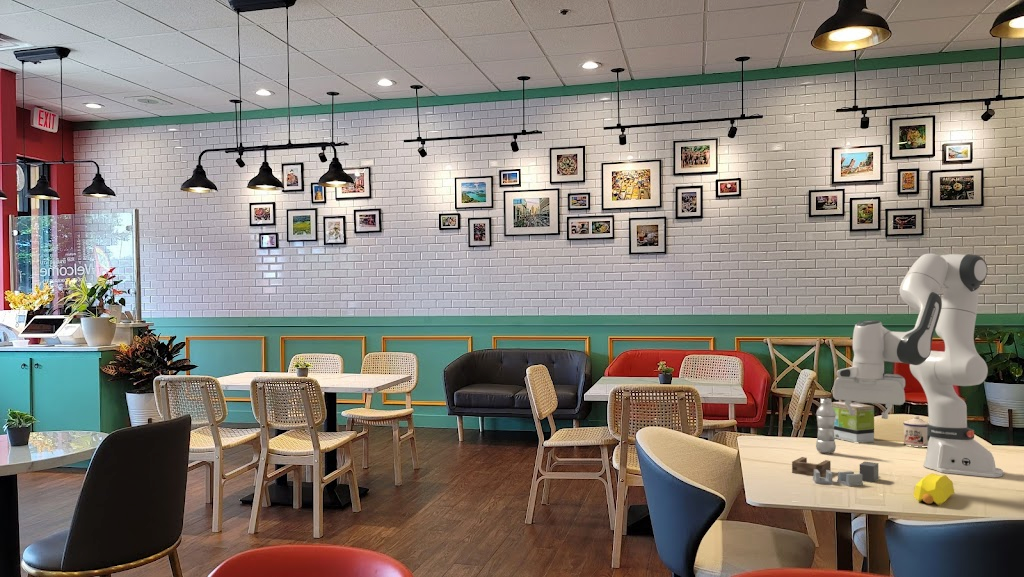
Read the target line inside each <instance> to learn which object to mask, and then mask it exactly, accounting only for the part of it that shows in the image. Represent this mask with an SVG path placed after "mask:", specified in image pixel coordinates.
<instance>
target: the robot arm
mask: <svg viewBox="0 0 1024 577" xmlns="http://www.w3.org/2000/svg"><path fill="white" fill-rule="evenodd" d="M905 274H906V275H905V276H904V278H903V279H902V281H901V283H900V286H899V291H898V292H899V296H900V298H901V299H902V301H903V302H904V303H905V304H906V305H907V306H909V307H910V308H912V309H914V310H916V311H919V313H918V316H917V318H916V321H915V325H914V328H913V329H911V330H908V331H893V330H892V331H891V330H890V329H887V328H886V327H885V326H883V323H882V321H880V320H874V319H868V320H861V321H859V322H856V324H855V325H854V328H853V333H852V351H853V359H852V365H851V366H847V367H846V368H841V369H838V370H837V371H836V376H837V377H836V379H834V382H833V387H832V388H833V389H832V397H833V399H834V400H835V401H845V405H846V407H847V408H848V410H849V415H851V416H855V410H853V409H852V407H851V406H850V404H851V403H852V402H857V403H858V402H859V403H871V404H880V405H881V404H883V405H885V408H886V410H885V412H881V419H884V420H888V419H889V413H890V411H891V410H892V408H893V405H895V406H901V405H904V403H906V394H905V393H906V392H905V390H904V389H905V387H906V379H905V377H904V376H903V375H901V374H899V373H894V374H892V373H885V362H889V363H902V364H907V365H909V371H910V373H911V374H912V376H913V377H914V378H915V379H916V380H917V381H918V382H919V384H920V385H921V387H922V389H923V392H924V394H925V396H926V401H927V413H928V414H927V415H928V423H929V424H928V425H927V440H928V447H927V448H926V455H925V458H924V462H923V467H925V468H927V469H930V470H935V471H937V472H940V473H944V474H952V475H965V476H974V477H975V476H976V477H985V478H1000V477H1002V476H1003V475H1004V470H1003V469H1002V468H999V467H996V462H995V458H994V455H993V454H992V452H991V451H990V450H988V449H987V448H986V447H984V446H983V445H982V444H981V443H979V442H978V441H976V440H975V430H974V429H972V428H970V427H968V419H967V418H968V412H967V411H968V410H967V409H968V408H967V407H968V406H967V404H966V402H965V400H964V399H962V398H961V397H960V396H959V394H957V393H956V390H955V387H954V386H960V387H972V386H977V385H981V384H982V383H983V382H984V381H985V380H986V379H987V377H988V372H989V371H988V370H989V368H988V365H987V362H986V360H984V358H983V357H982V356H980V354H979V353H978V350H977V348H976V345H975V340H974V337H975V336H974V334H975V327H976V320H977V314H978V308H979V306H978V305H979V290H978V289H979V288H980V286H981V285H982V284H983V283H984V282H985V280H986V279H987V275H988V264H987V262H986V261H985V259H984V258H983V256H980V255H978V254H972V253H968V254H960V253H949V254H942V255H941V254H936V253H932V252H931V253H924V254H922V255H921V256H919V257H918V259H916V260H915V261H914V263H913V264H912V266H911V267H910V268H909V269H908V271H907V272H906V273H905ZM942 288H944V292H943V294H942V296H940V295H939V294H940V291H941V290H942ZM935 333H936V335H937V336H938V337H939V338H940V339H941V340H942V341H943V342H944V351H940V350H939V351H938V350H932V343H933V339H934V336H935Z"/></svg>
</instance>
